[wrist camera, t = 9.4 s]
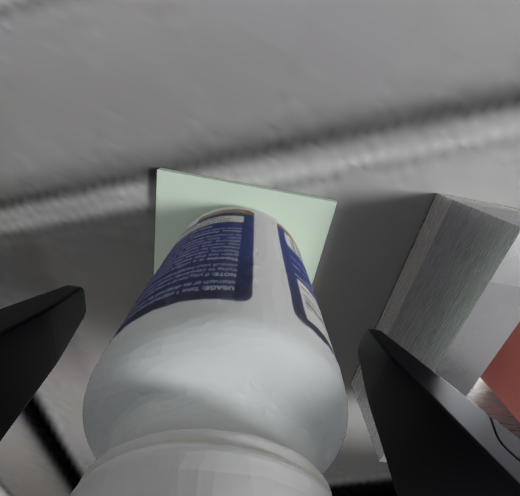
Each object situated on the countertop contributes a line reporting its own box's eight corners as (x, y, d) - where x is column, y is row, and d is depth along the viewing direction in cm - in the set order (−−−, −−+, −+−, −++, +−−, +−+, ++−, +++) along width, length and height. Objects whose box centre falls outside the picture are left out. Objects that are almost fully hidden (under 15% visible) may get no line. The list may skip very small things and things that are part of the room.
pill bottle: (161, 292, 13) (-61, 693, 4) (197, 182, 11) (-100, 492, 2) (270, 327, 14) (296, 718, 5) (322, 232, 12) (540, 604, 3)
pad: (294, 332, 14) (295, 337, 14) (155, 312, 14) (152, 318, 13) (334, 199, 11) (337, 202, 11) (160, 167, 11) (157, 169, 10)
